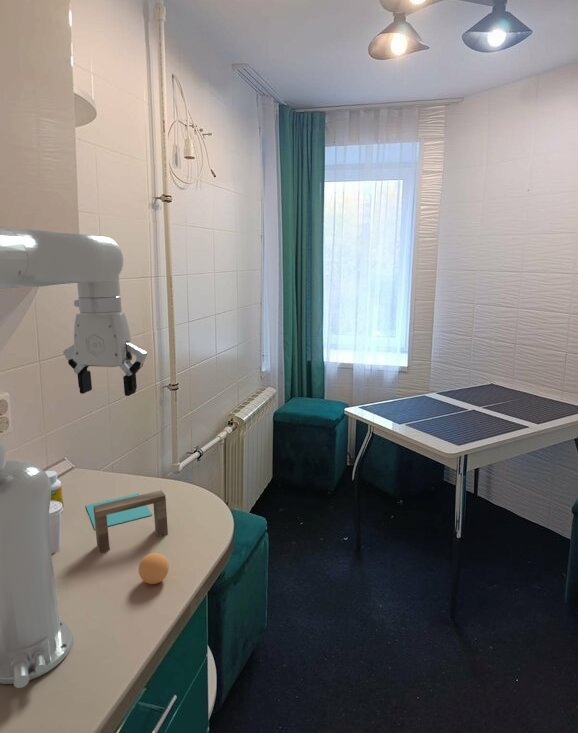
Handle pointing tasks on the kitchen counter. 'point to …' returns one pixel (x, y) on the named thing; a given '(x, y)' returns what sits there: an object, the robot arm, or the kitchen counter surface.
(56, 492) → the supplement bottle
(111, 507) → the bridge
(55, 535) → the smoothie
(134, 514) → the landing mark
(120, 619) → the kitchen counter surface
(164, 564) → the ball
